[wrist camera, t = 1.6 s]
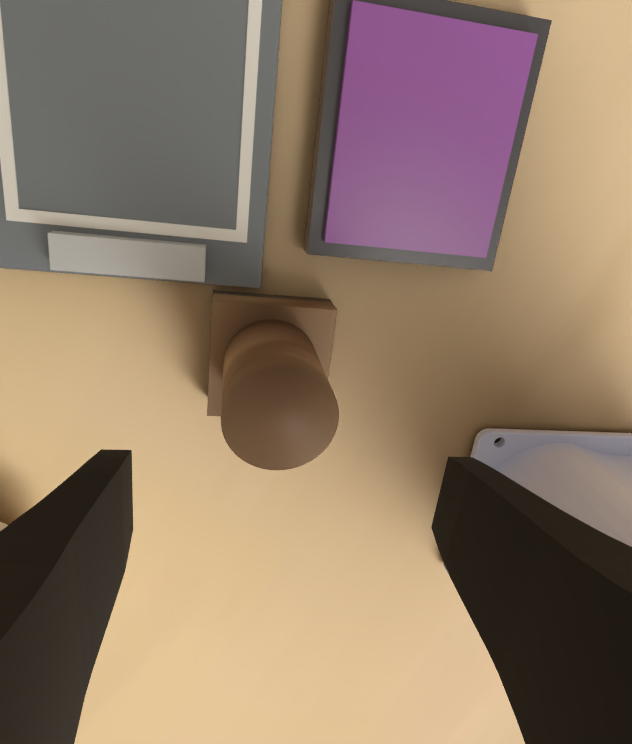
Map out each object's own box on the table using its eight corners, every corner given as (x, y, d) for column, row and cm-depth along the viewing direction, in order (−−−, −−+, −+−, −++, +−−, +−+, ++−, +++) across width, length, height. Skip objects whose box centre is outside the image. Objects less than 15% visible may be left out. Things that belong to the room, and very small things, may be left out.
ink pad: (534, 27, 17) (556, 18, 16) (480, 265, 20) (495, 272, 19) (330, -10, 16) (338, -24, 15) (304, 249, 19) (308, 255, 18)
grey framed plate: (287, -81, 15) (290, -94, 14) (260, 286, 19) (261, 292, 18) (-51, -151, 14) (-69, -171, 13) (-4, 265, 18) (-16, 270, 17)
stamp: (329, 298, 20) (365, 352, 15) (316, 401, 22) (344, 485, 16) (213, 290, 19) (205, 342, 14) (209, 397, 21) (200, 483, 15)
